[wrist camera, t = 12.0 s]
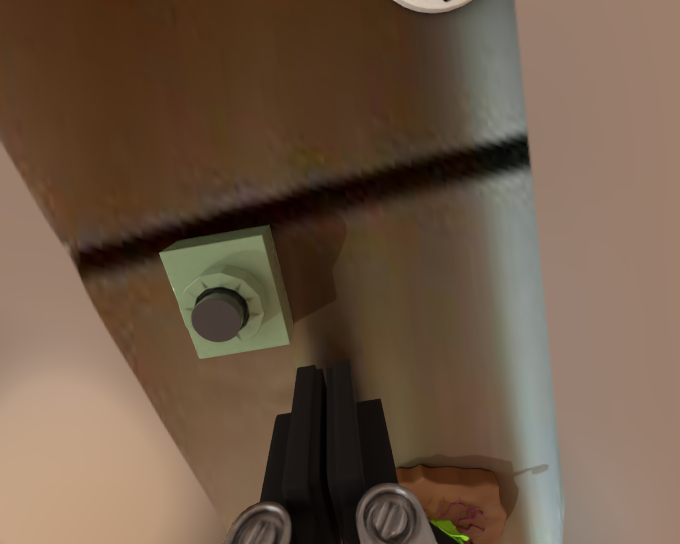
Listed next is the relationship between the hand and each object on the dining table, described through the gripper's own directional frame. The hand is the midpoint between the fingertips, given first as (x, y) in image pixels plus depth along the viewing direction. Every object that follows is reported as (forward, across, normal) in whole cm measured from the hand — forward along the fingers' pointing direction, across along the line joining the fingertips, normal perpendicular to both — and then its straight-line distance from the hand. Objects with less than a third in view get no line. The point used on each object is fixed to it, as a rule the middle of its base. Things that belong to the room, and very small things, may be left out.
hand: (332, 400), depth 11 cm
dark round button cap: (+18, +10, +4) cm, 21 cm away
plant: (+23, -7, +43) cm, 49 cm away
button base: (+23, +10, +4) cm, 25 cm away
